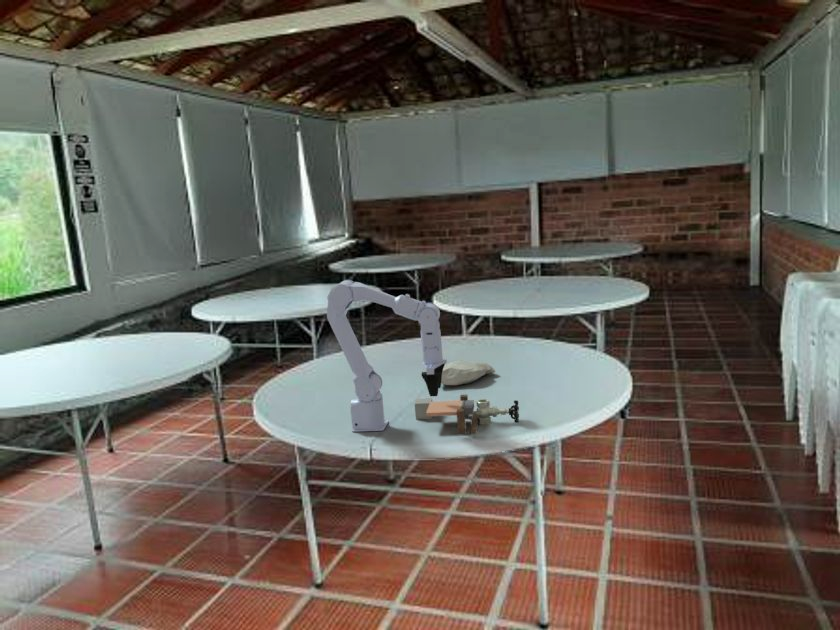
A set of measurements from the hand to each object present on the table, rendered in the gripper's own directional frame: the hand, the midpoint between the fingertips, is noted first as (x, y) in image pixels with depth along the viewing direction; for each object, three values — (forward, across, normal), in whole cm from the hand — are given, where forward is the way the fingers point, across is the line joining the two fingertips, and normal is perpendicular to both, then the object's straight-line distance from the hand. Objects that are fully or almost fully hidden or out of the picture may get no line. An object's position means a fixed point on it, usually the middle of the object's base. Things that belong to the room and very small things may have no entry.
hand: (435, 391), depth 190 cm
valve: (+10, +1, -17) cm, 20 cm away
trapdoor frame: (+10, 0, -9) cm, 14 cm away
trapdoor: (+6, 0, -4) cm, 7 cm away
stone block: (+10, +8, +5) cm, 14 cm away
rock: (+10, +45, -3) cm, 47 cm away
